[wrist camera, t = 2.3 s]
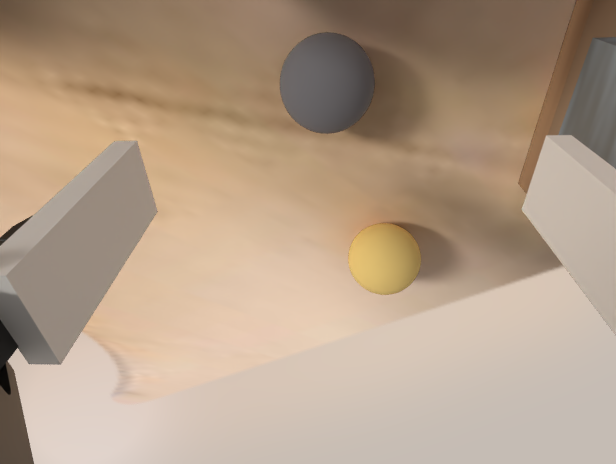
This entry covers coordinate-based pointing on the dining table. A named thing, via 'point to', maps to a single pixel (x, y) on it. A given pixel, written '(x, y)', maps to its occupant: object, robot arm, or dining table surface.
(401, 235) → the ochre ball
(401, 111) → the dining table surface
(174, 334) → the dining table surface
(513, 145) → the dining table surface
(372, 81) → the charcoal ball
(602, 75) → the desk organizer
